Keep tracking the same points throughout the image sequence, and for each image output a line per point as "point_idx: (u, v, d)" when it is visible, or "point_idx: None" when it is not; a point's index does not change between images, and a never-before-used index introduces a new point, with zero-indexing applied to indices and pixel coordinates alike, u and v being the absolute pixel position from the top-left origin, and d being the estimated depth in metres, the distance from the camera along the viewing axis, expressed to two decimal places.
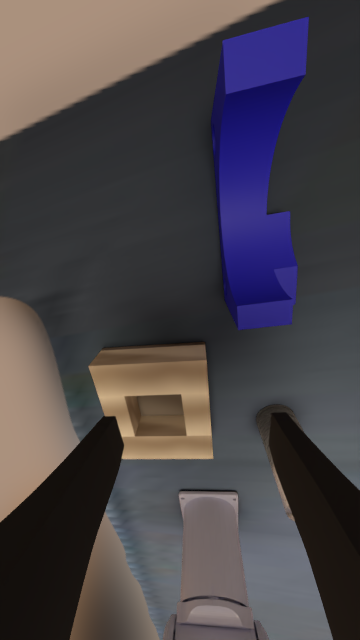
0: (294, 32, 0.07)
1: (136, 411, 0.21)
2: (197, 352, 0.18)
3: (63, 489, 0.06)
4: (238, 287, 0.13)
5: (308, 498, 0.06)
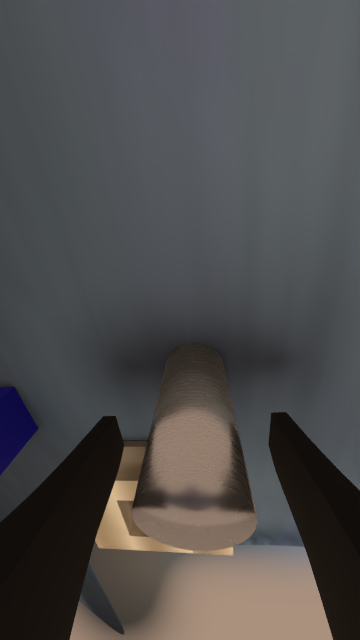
0: None
1: None
2: None
3: (63, 489, 0.06)
4: None
5: (308, 498, 0.06)
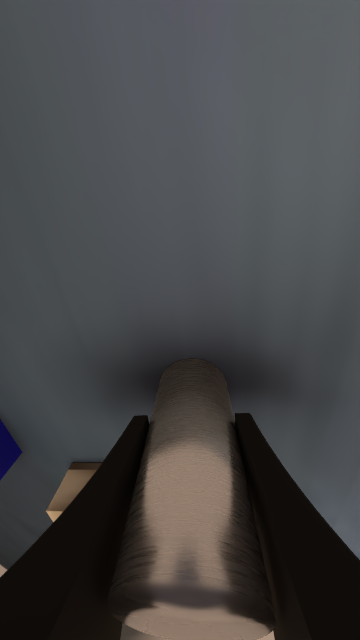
0: None
1: None
2: None
3: (110, 490, 0.06)
4: None
5: (257, 497, 0.06)
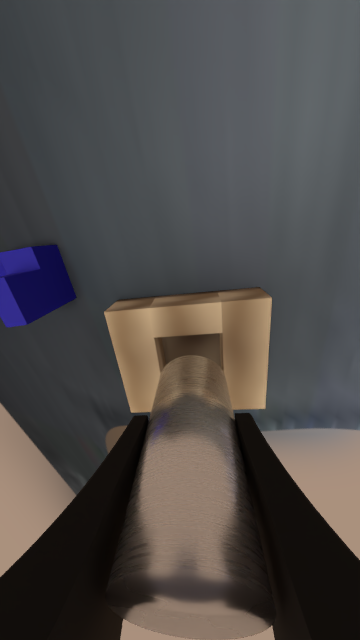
0: None
1: None
2: None
3: (110, 490, 0.06)
4: None
5: (256, 497, 0.06)
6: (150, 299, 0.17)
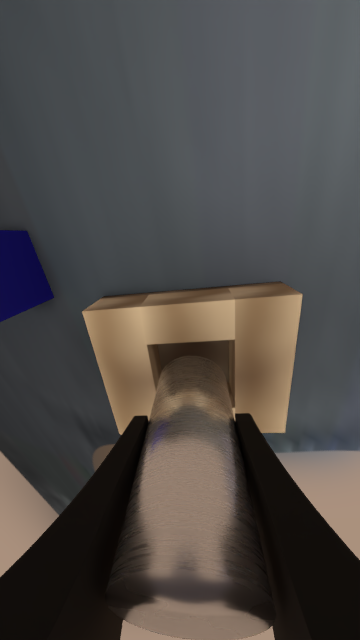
0: None
1: None
2: None
3: (109, 490, 0.06)
4: None
5: (257, 497, 0.06)
6: (143, 296, 0.13)
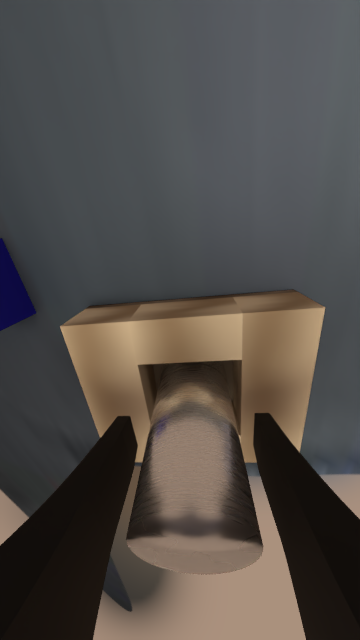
0: None
1: None
2: None
3: (84, 489, 0.06)
4: None
5: (284, 498, 0.06)
6: (134, 306, 0.12)
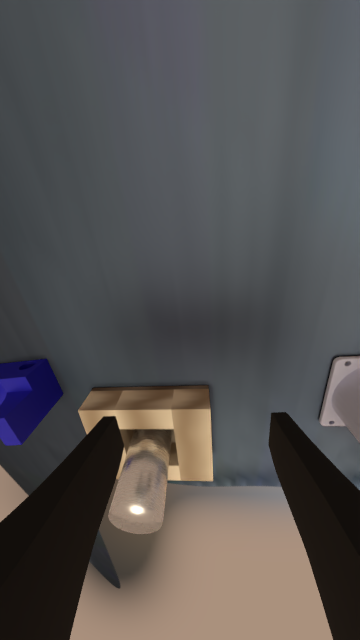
0: None
1: None
2: None
3: (63, 489, 0.06)
4: None
5: (308, 498, 0.06)
6: (118, 392, 0.20)
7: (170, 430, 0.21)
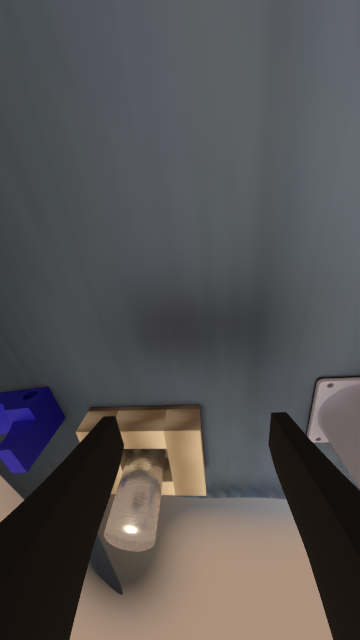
0: None
1: None
2: None
3: (63, 489, 0.06)
4: None
5: (308, 498, 0.06)
6: (114, 412, 0.21)
7: None
